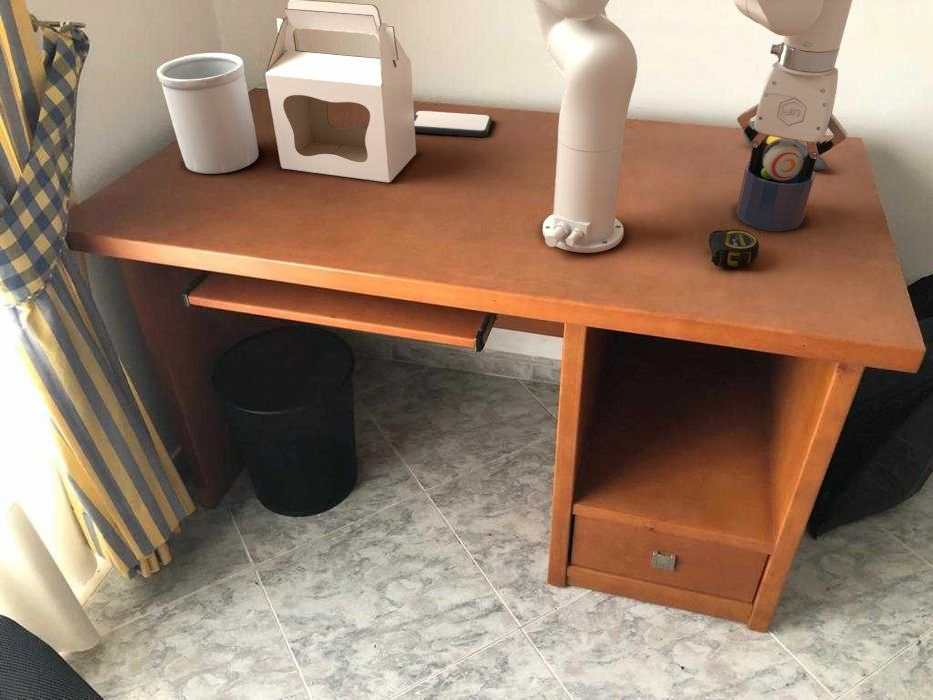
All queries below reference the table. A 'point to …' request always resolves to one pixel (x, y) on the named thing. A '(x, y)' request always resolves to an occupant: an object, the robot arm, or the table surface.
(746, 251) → the tape measure
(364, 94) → the gable box
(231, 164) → the utensil holder
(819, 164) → the paintbrush
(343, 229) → the table surface
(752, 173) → the cup
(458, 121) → the phone case
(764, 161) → the roller toy
